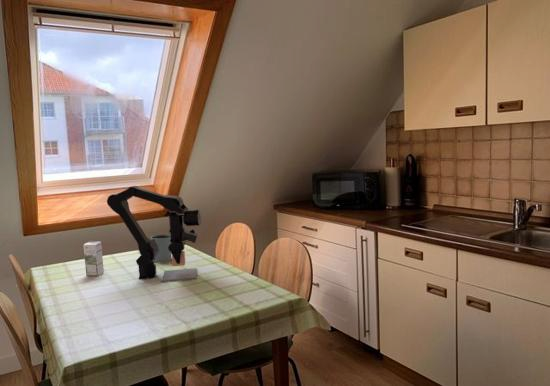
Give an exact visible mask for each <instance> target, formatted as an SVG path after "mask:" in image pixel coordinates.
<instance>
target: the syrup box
mask: <svg viewBox="0 0 550 386" xmlns="http://www.w3.org/2000/svg"><path fill="white" fill-rule="evenodd" d="M82 248H83V252H84V253H83V254H84V265H85V274H86V277H99V276H100V275H102V274H104V273H105V268H104V259H103V258H104V257H103V249H102V248H103V247H102V241H87V242H85V243H84V244H83V247H82Z"/></svg>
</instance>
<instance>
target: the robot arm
mask: <svg viewBox="0 0 550 386" xmlns="http://www.w3.org/2000/svg"><path fill="white" fill-rule="evenodd" d="M133 197H134V198H138V199H141V200H146V201H148V202H152V203H154V204H157V205H160V206H161V207H163V208H165V209H166V210H167V211H166V212H165V214H163V217H168V222H169V230H168V231H169V235H170V242H171V243H170V244H169V246H168V250H169V251H171V256H172V255H173V257H174V259H175V261H176V263H177V264H180V257H181V252H182V251H184V250H185V245H186V242H187V241H188V242H191V243H195V244H196V241H197V238H198V234H197V233H196V231H195V229H192V228H191V229H190V230H186V229H185V226H187V227H200V226H201V225H202V216H201V212H200V209H189V208H188V207H187V206H186V204H185V203H184V199H182V197H181V196H178V195H170V194H169V195H168V194H162V193H158V192H155V191H151V190H148V189H145V188H142V187H139V186H137V185H132V186H129V187H128V188H127V189H125V190H123V191H121V192H117V193H113V194H110V195H109V196H108V197H107V199H106V203H107V206H108V207H109V209H111V210H112V211H113V212H114V213H115V214H117V215H118V216H119V217H120V218H121V220H122V222H123V223H124V225H125V226H126V228H127V230H128V231H129V232H130V235H132V237H133V239H134V240H135V242H136V243H137V246H138V247H137V248H138V251H139V252H138V253H139V255H140V256H139V257H138V258H137V259H136V260H135V262H136V264H137V266H138V276H139V277H138V279H139V280H141V279H142V280H143V279H153V278H155V277H156V276H157V265H156V263H155V262H154V261H153V260H155V257H156V256H157V255H158V253H159V248H158V247H159V246H158V245H157V244H156V242H155V240H154V239H152V240H151V238H148V236H147V235H146V234H145V232H144V230H143V228H142V227H141V226H140V224H139V223H138V221H137V219H136V218H135V216H134V215H133V213H132V211H131V210H130V207H129V206H130V205H129V202H128V200H130V199H132V198H133ZM184 225H185V226H184Z"/></svg>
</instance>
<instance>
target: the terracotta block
mask: <svg viewBox="0 0 550 386" xmlns="http://www.w3.org/2000/svg"><path fill="white" fill-rule="evenodd" d="M171 262H172V267H181V266H186V253H185V251H184V250H183V251H182V252H181V257H180V264H177V263H176V261H175V259H174V257H173V255H172V254H171Z"/></svg>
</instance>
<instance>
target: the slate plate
mask: <svg viewBox="0 0 550 386" xmlns="http://www.w3.org/2000/svg"><path fill="white" fill-rule="evenodd" d="M197 271H198V268H197V267H193V268H182V269H169V270H164V272H163V275H162V278H161V283H169V282H168V281H170V282H178V281H177V280H182V281H190V280H189V279H194V280H197V273H198V272H197Z"/></svg>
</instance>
